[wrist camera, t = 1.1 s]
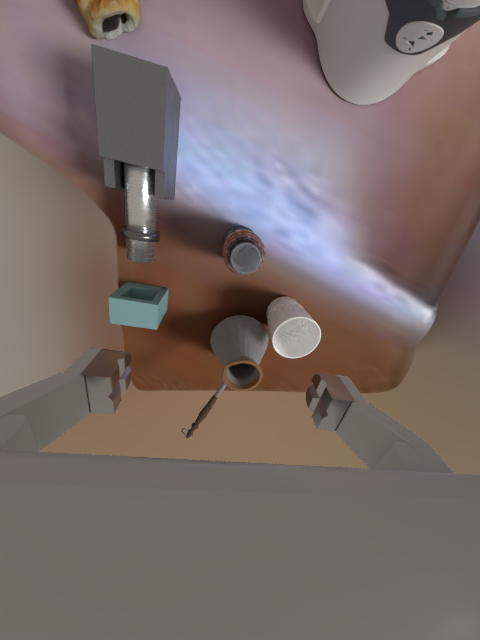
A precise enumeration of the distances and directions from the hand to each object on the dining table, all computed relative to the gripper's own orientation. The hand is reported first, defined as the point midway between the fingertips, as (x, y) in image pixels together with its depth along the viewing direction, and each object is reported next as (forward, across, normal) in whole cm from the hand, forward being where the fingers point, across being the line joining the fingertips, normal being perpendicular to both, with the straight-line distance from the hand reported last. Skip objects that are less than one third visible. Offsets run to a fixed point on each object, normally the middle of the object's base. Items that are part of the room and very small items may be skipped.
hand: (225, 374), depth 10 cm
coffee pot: (+33, -3, +21) cm, 39 cm away
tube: (+31, +12, -6) cm, 34 cm away
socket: (+32, +13, +11) cm, 37 cm away
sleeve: (+32, +12, -11) cm, 36 cm away
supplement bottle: (+32, -2, -1) cm, 32 cm away
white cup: (+32, -13, +10) cm, 36 cm away
